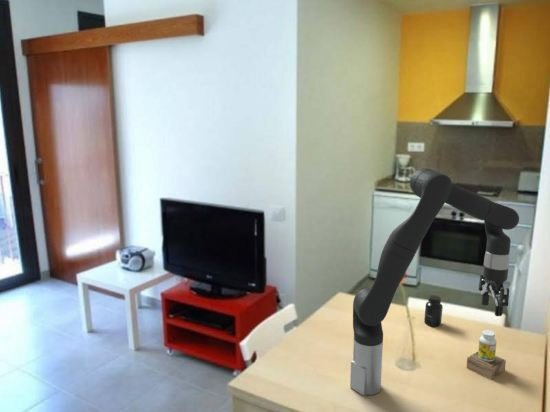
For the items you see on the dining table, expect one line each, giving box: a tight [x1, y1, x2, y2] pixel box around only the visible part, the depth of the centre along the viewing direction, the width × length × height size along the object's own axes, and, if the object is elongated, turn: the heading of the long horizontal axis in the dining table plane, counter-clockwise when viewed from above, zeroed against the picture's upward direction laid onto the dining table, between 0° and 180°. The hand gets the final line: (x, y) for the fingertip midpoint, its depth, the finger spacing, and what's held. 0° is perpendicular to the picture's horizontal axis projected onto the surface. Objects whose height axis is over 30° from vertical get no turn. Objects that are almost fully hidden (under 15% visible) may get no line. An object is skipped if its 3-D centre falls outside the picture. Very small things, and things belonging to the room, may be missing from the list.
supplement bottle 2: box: [477, 329, 497, 362], centre depth 161 cm, size 5×5×10 cm
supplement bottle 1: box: [424, 294, 443, 328], centre depth 195 cm, size 7×7×12 cm
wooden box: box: [466, 351, 507, 380], centre depth 162 cm, size 9×9×4 cm
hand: (491, 310), depth 158 cm, fingers open, 8 cm apart
